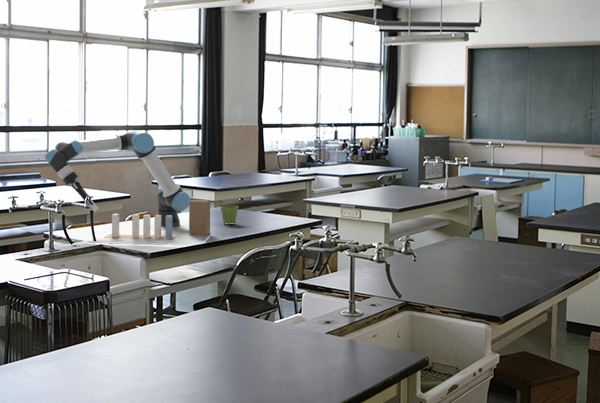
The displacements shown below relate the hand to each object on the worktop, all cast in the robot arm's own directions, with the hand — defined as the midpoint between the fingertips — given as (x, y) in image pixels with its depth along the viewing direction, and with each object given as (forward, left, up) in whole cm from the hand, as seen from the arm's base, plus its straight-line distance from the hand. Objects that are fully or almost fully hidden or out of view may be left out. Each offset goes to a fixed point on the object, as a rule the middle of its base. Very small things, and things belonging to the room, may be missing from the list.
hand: (96, 209), depth 365 cm
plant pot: (-63, +64, -15) cm, 91 cm away
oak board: (-1, +24, -15) cm, 29 cm away
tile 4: (-1, +33, -14) cm, 36 cm away
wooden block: (-17, +53, -15) cm, 58 cm away
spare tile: (-1, +10, -14) cm, 18 cm away
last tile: (-1, +39, -14) cm, 42 cm away
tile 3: (-1, +27, -14) cm, 31 cm away
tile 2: (-1, +21, -14) cm, 26 cm away
